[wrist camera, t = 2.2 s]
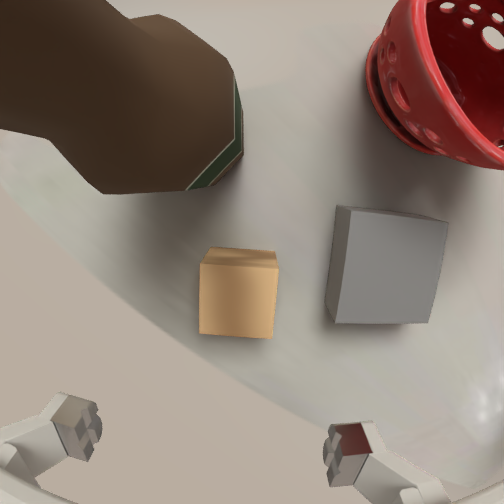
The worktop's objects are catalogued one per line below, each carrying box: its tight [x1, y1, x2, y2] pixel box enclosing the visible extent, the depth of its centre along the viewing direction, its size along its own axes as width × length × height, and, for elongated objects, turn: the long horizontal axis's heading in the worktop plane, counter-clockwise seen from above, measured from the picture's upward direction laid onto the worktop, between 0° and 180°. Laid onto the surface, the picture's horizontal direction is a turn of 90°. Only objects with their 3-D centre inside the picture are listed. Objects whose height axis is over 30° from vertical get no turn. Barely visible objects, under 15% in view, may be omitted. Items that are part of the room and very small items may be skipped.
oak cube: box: [199, 247, 279, 339], centre depth 23 cm, size 5×5×5 cm
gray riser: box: [325, 205, 448, 324], centre depth 23 cm, size 8×8×4 cm
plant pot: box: [366, 0, 504, 170], centre depth 15 cm, size 13×13×12 cm
